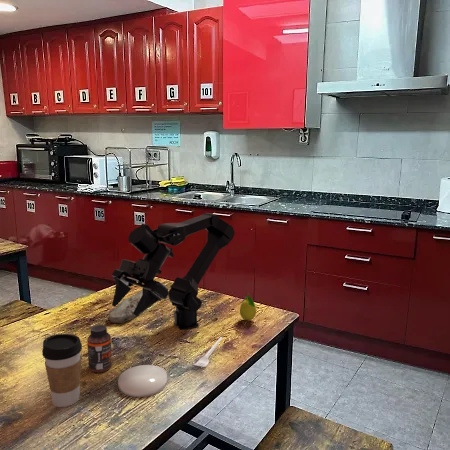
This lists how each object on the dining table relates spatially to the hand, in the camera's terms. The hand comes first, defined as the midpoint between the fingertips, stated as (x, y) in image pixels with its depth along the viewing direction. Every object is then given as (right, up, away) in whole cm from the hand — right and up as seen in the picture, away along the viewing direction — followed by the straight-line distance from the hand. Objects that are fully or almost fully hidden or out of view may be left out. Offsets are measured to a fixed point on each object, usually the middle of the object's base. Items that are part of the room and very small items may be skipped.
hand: (123, 310), depth 114 cm
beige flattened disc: (+7, -16, -10) cm, 20 cm away
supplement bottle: (-5, -15, -4) cm, 16 cm away
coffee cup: (-9, -17, -17) cm, 26 cm away
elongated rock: (-3, -6, +37) cm, 38 cm away
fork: (+24, -14, +4) cm, 28 cm away
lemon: (+36, -9, +25) cm, 44 cm away
